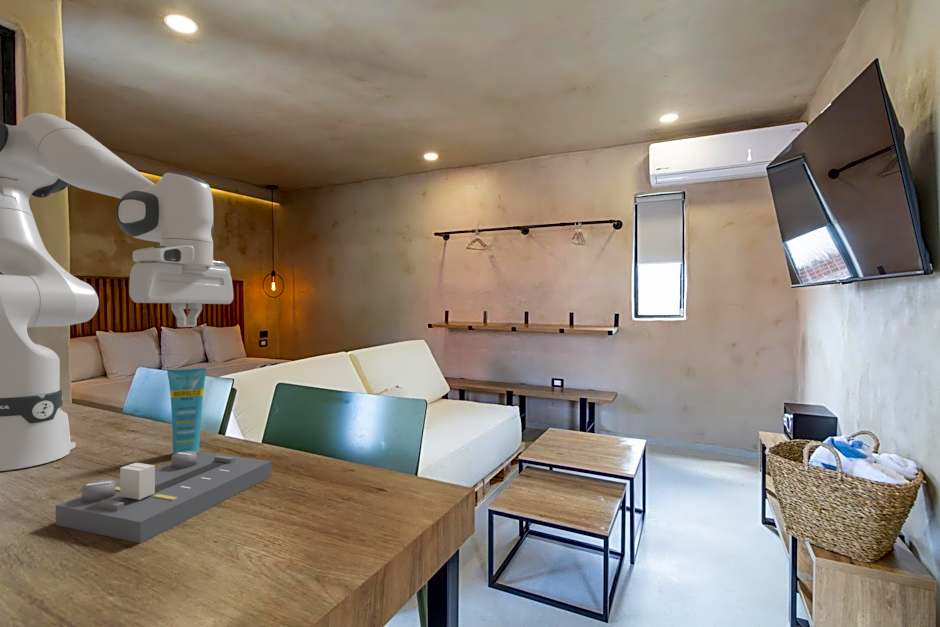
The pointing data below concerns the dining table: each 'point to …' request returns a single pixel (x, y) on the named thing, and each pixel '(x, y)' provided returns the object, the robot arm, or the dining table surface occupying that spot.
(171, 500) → the console
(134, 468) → the fader cap
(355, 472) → the dining table surface
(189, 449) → the tube
